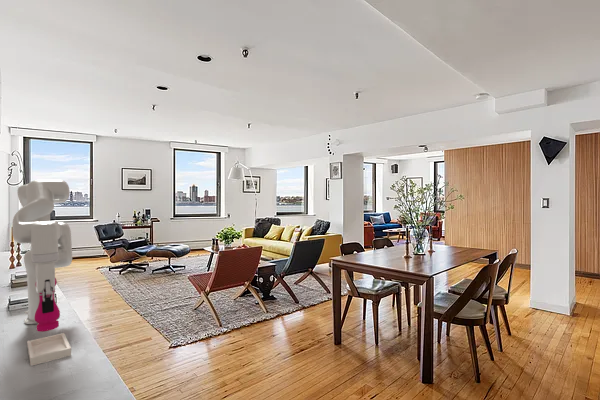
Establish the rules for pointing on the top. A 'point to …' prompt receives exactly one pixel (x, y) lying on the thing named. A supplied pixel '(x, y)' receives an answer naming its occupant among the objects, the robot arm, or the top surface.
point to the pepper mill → (47, 315)
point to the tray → (48, 349)
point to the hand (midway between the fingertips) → (47, 309)
